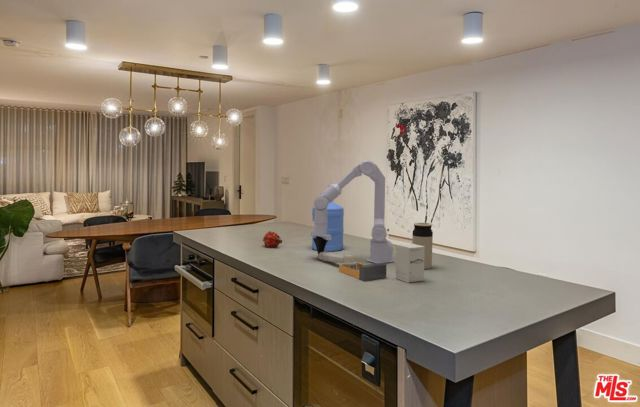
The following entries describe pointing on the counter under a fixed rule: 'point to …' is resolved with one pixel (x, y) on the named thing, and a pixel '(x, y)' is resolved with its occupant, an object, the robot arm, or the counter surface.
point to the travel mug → (424, 241)
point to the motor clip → (365, 271)
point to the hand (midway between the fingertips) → (320, 254)
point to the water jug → (333, 227)
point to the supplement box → (410, 262)
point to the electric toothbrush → (338, 258)
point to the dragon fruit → (271, 239)
